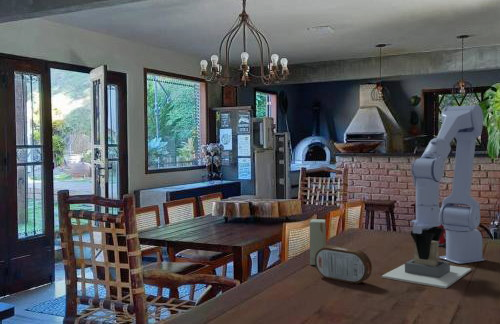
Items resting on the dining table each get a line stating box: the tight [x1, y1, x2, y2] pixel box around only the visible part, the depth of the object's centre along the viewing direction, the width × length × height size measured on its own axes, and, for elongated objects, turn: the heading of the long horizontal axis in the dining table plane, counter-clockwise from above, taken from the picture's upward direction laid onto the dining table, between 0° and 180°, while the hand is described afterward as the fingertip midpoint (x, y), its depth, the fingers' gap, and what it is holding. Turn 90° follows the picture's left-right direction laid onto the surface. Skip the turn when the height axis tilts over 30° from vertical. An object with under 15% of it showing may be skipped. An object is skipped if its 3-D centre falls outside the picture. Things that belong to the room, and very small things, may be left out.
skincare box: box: [309, 218, 327, 266], centre depth 145 cm, size 6×4×12 cm
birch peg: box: [413, 241, 439, 267], centre depth 132 cm, size 4×5×8 cm
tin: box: [314, 244, 373, 285], centre depth 127 cm, size 15×3×8 cm, turn 50°
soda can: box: [437, 206, 446, 247], centre depth 167 cm, size 6×6×12 cm
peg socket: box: [381, 258, 472, 289], centre depth 132 cm, size 20×16×3 cm
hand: (427, 257), depth 132 cm, fingers open, 5 cm apart
